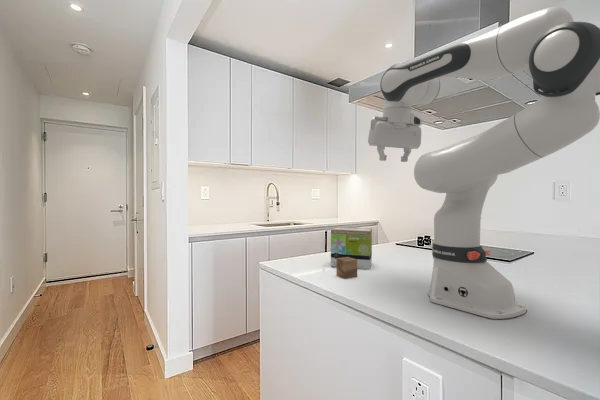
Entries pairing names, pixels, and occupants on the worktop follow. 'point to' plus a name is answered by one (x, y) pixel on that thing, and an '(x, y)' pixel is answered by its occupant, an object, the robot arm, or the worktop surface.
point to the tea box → (352, 245)
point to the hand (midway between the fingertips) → (393, 161)
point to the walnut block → (346, 267)
